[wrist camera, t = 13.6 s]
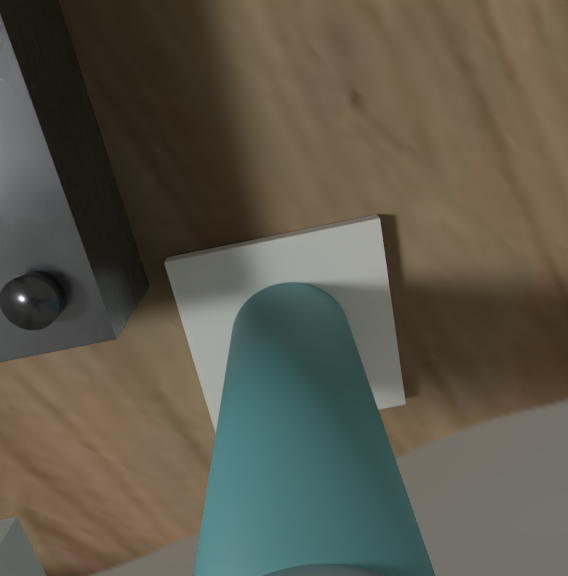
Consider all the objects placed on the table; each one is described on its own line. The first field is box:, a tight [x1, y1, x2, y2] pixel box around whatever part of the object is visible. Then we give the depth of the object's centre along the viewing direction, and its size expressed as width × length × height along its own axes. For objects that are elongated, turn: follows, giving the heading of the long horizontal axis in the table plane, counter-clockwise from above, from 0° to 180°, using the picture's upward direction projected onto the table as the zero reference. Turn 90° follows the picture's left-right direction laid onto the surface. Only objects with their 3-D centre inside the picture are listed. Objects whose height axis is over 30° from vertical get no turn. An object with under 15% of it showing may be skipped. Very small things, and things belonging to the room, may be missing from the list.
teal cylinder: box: [193, 282, 435, 576], centre depth 14 cm, size 5×5×13 cm
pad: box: [164, 215, 406, 433], centre depth 20 cm, size 8×8×1 cm
